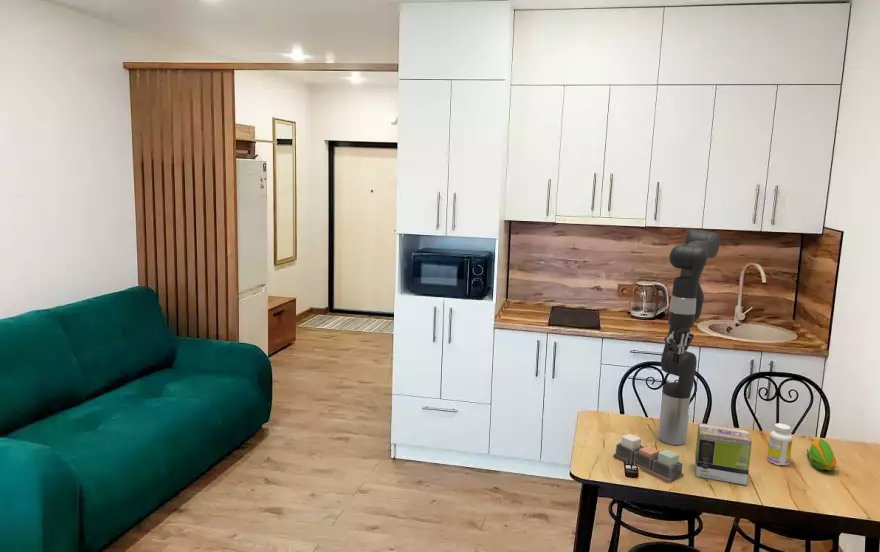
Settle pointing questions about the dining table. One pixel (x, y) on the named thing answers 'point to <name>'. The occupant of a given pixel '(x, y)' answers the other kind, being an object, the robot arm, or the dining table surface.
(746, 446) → the tea box
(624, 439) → the button ivory
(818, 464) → the corn
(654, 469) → the grey button tray
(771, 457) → the supplement bottle
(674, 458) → the button sage
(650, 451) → the button terracotta
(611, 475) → the dining table surface
